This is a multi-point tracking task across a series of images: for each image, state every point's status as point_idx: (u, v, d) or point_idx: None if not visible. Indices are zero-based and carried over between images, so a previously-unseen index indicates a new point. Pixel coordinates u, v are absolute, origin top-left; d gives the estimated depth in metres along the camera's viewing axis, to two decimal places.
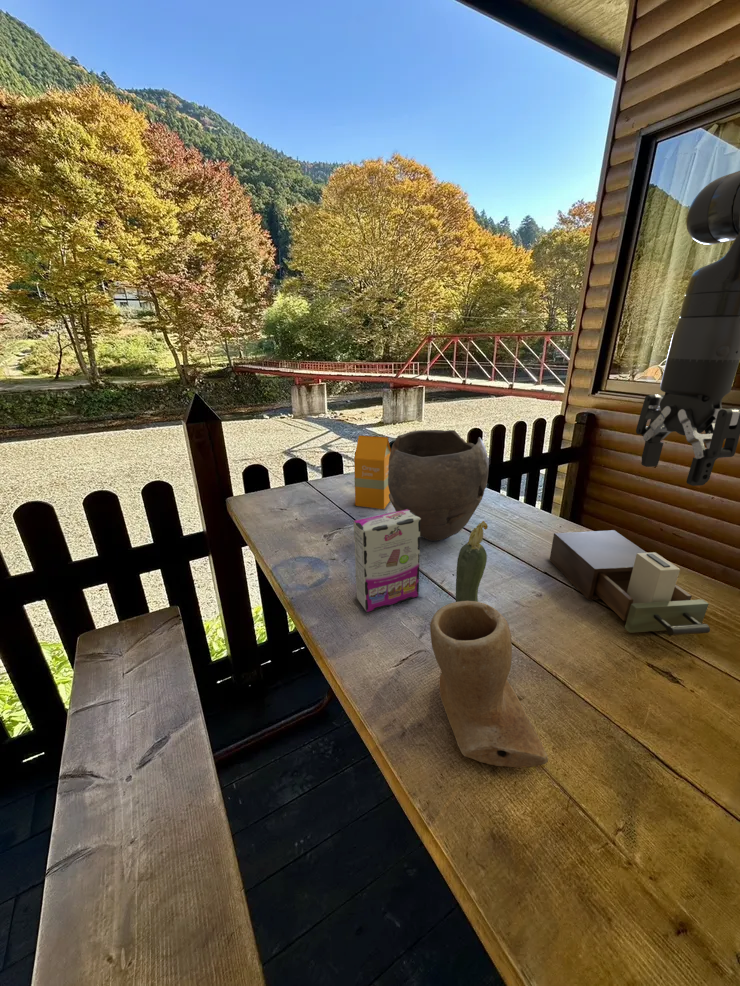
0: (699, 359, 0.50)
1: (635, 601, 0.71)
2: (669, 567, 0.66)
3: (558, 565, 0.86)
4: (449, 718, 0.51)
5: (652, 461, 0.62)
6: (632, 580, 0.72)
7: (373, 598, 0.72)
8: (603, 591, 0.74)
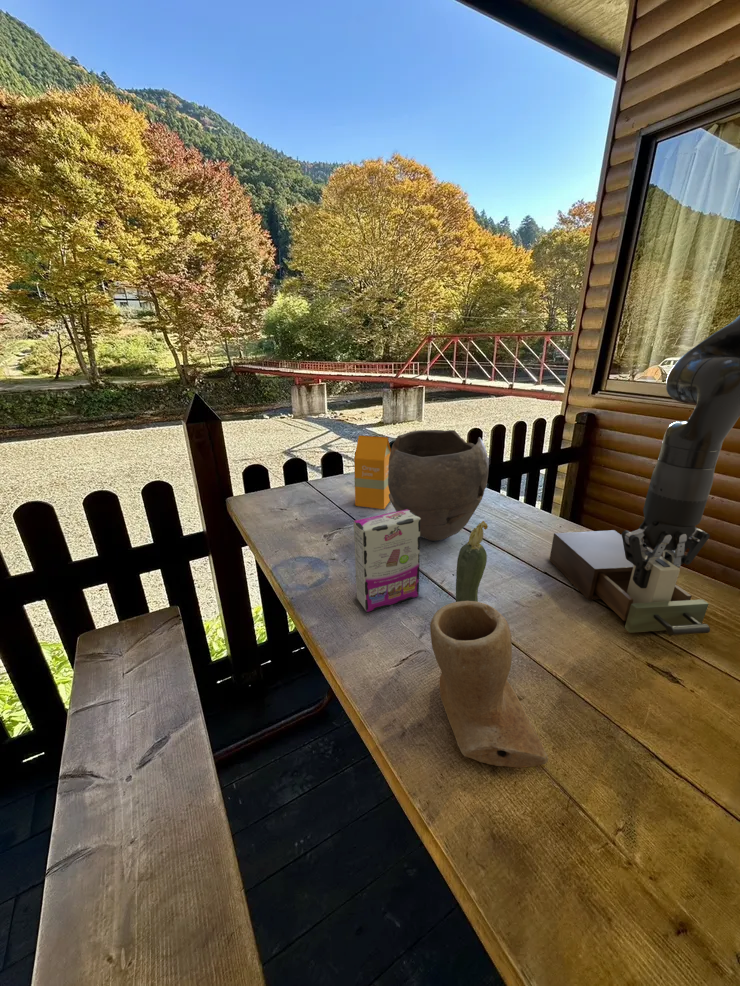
0: None
1: (635, 601, 0.71)
2: (669, 567, 0.66)
3: (558, 565, 0.86)
4: (449, 718, 0.51)
5: None
6: (632, 580, 0.72)
7: (373, 598, 0.72)
8: (603, 591, 0.74)
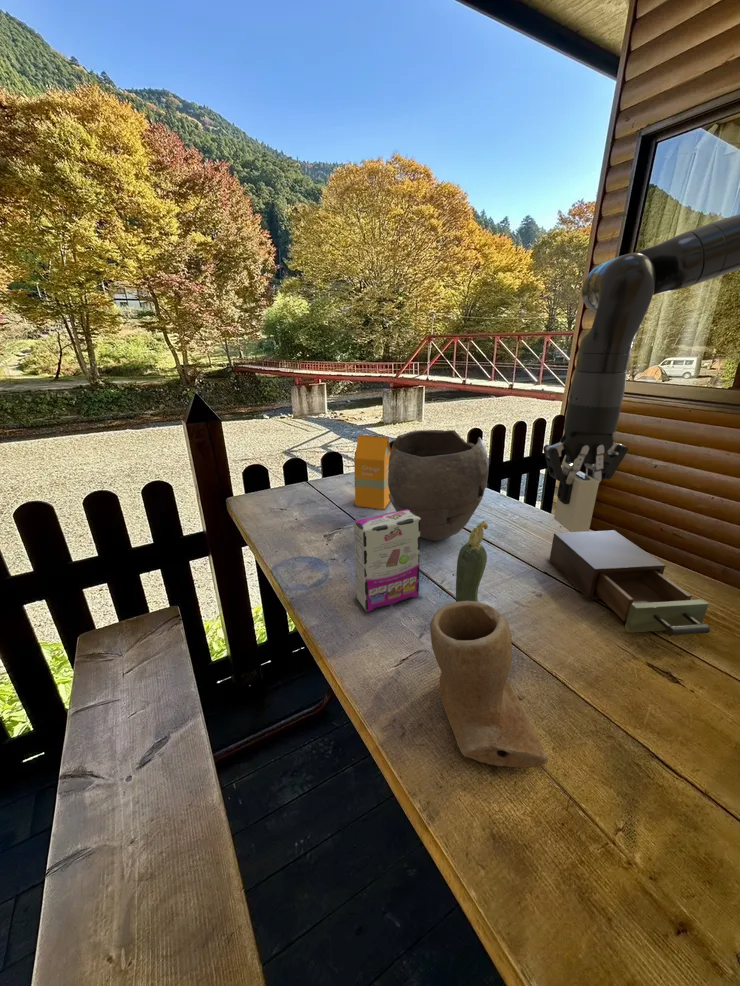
0: None
1: (561, 520, 0.72)
2: (589, 480, 0.67)
3: (558, 565, 0.86)
4: (449, 718, 0.51)
5: None
6: (558, 500, 0.73)
7: (373, 598, 0.72)
8: (603, 591, 0.74)
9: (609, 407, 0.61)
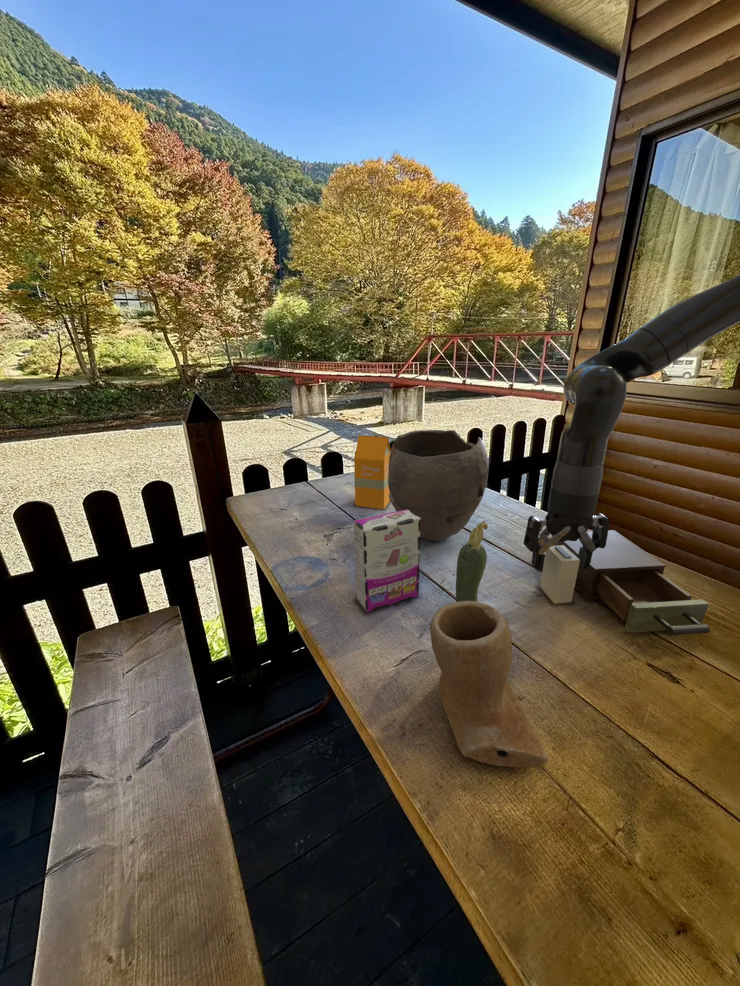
0: None
1: (546, 590, 0.78)
2: (570, 558, 0.73)
3: None
4: (449, 718, 0.51)
5: (580, 563, 0.76)
6: (544, 571, 0.78)
7: (373, 598, 0.72)
8: (603, 591, 0.74)
9: (587, 496, 0.67)
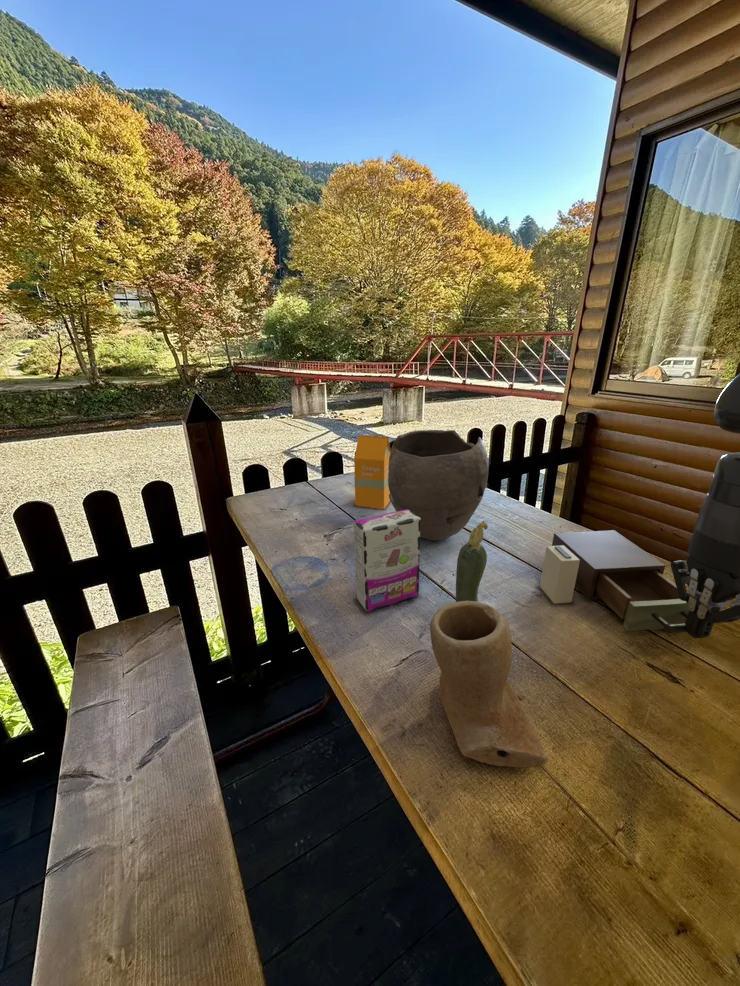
0: (729, 543, 0.53)
1: (546, 590, 0.78)
2: (570, 558, 0.73)
3: None
4: (449, 718, 0.51)
5: None
6: (544, 571, 0.78)
7: (373, 598, 0.72)
8: (601, 590, 0.74)
9: None
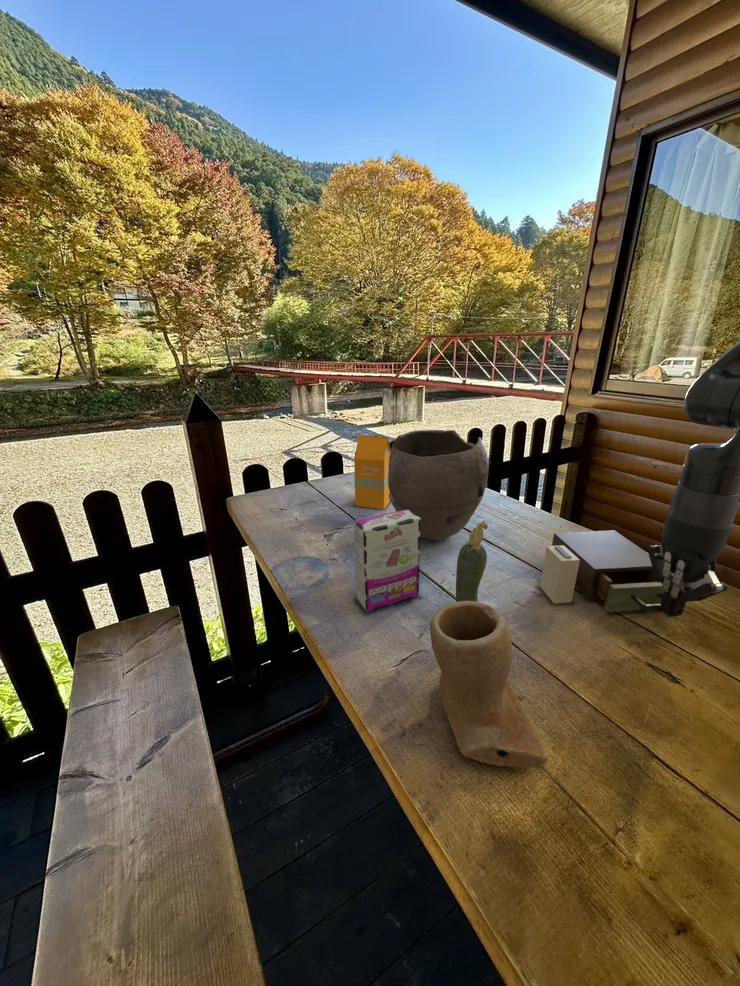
0: (697, 526, 0.57)
1: (546, 590, 0.78)
2: (570, 558, 0.73)
3: None
4: (449, 718, 0.51)
5: None
6: (544, 571, 0.78)
7: (373, 598, 0.72)
8: None
9: None
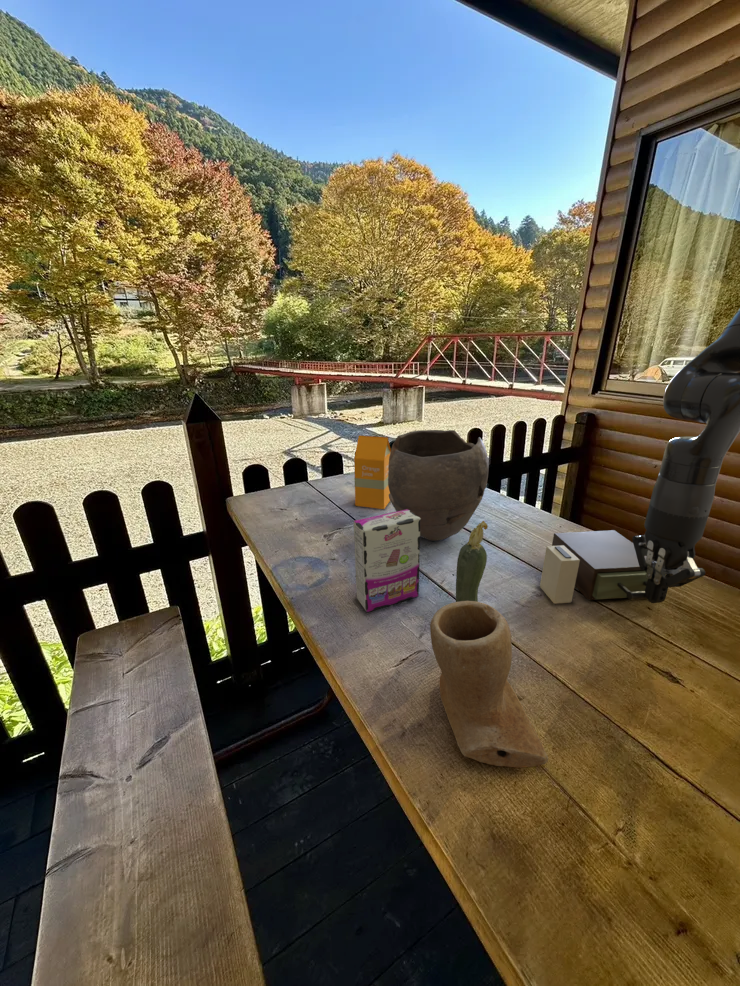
0: (675, 515, 0.61)
1: (546, 590, 0.78)
2: (570, 558, 0.73)
3: None
4: (449, 718, 0.51)
5: None
6: (544, 571, 0.78)
7: (373, 598, 0.72)
8: None
9: None
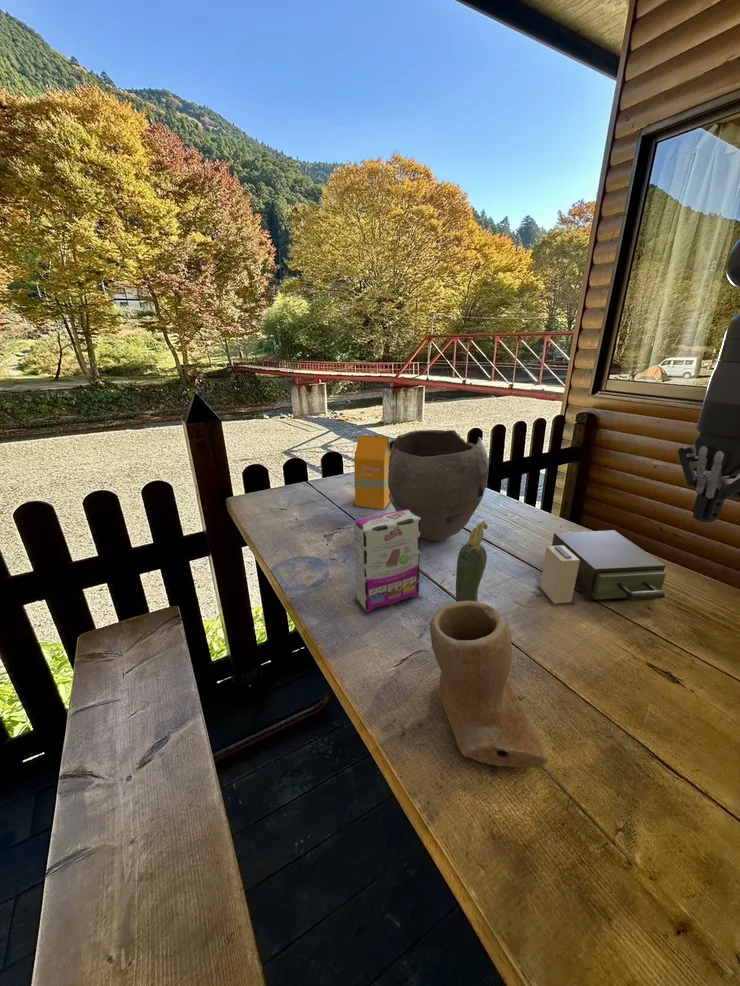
0: None
1: (546, 590, 0.78)
2: (570, 558, 0.73)
3: None
4: (449, 718, 0.51)
5: None
6: (544, 571, 0.78)
7: (373, 598, 0.72)
8: None
9: None
